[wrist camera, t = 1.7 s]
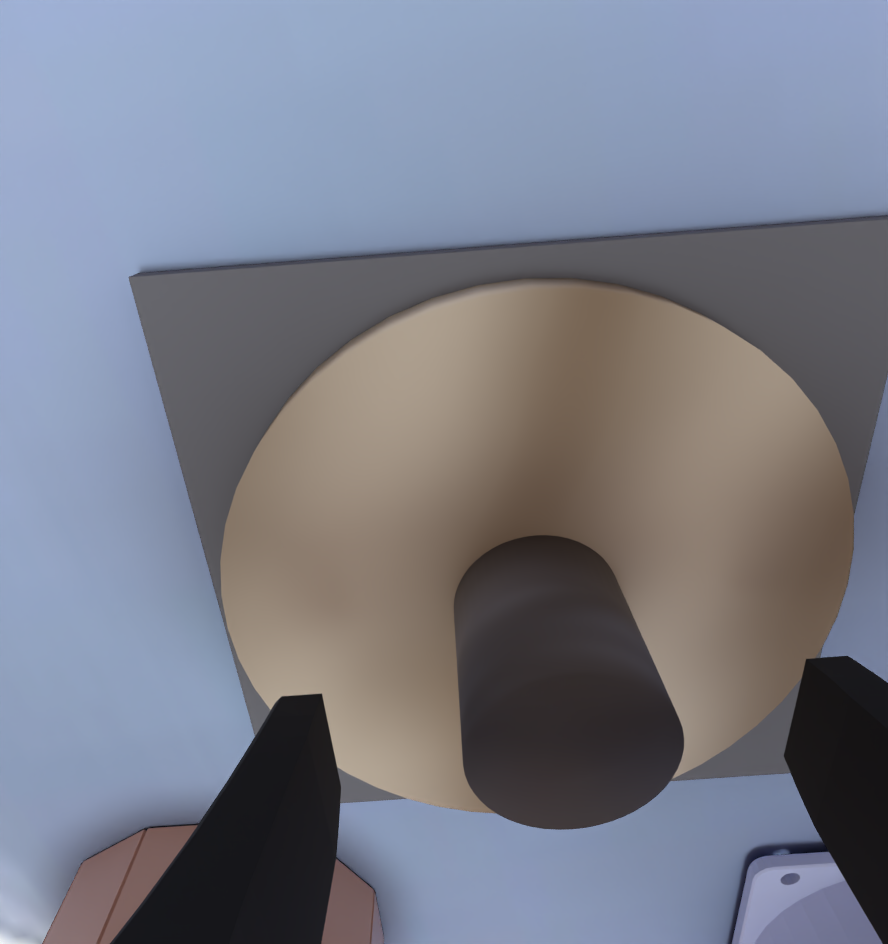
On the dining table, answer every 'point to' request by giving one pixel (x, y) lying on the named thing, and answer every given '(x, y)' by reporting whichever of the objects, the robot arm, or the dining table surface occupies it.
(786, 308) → the mat
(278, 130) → the dining table surface
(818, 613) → the lid
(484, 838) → the dining table surface
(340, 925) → the bucket
